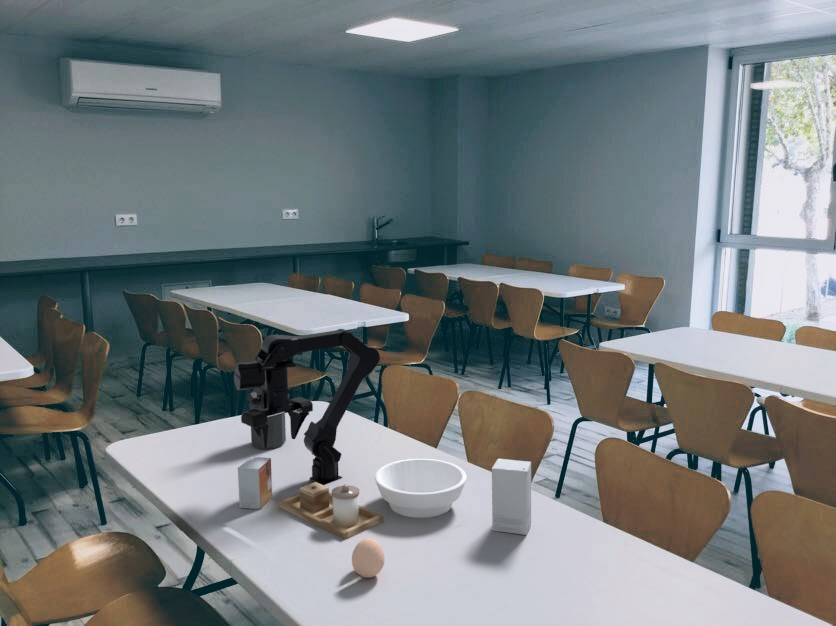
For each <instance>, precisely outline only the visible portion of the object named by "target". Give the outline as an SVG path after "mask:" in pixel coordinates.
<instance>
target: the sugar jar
mask: <svg viewBox="0 0 836 626" xmlns="http://www.w3.org/2000/svg"><path fill="white" fill-rule="evenodd" d="M331 493H332V496H333V524H334V525H336V526H338V527H352V526H355V525H357V524H358V522H359V505H360V503H359V501H360V499H359V495H360V488H359V487H357V486H354V485H348V484H343V485H337V486H336V487H334V488H332V490H331Z"/></svg>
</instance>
